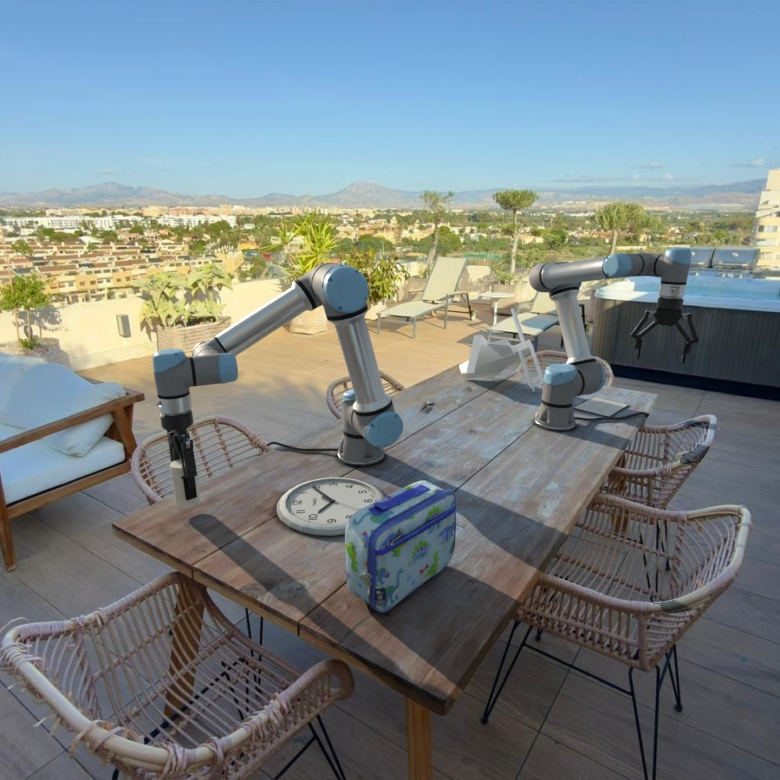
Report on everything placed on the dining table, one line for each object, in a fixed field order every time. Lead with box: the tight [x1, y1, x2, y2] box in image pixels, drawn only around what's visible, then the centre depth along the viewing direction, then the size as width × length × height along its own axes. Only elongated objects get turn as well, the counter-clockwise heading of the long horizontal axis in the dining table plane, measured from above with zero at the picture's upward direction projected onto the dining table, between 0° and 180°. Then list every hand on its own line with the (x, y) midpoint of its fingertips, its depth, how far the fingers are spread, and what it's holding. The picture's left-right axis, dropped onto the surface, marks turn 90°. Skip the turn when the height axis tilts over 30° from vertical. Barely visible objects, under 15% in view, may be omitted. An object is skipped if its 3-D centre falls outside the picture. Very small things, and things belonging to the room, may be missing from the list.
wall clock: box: [276, 476, 386, 537], centre depth 142 cm, size 30×2×30 cm
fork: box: [420, 396, 435, 411], centre depth 223 cm, size 3×16×2 cm, turn 160°
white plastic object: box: [458, 307, 544, 393], centre depth 255 cm, size 37×45×31 cm
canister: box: [169, 459, 202, 510], centre depth 137 cm, size 6×6×12 cm
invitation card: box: [573, 396, 629, 417], centre depth 226 cm, size 21×1×15 cm
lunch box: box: [344, 480, 457, 614], centre depth 109 cm, size 26×11×21 cm, turn 135°
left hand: (186, 493), depth 138 cm, fingers closed on canister, 6 cm apart
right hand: (659, 360), depth 177 cm, fingers open, 13 cm apart
